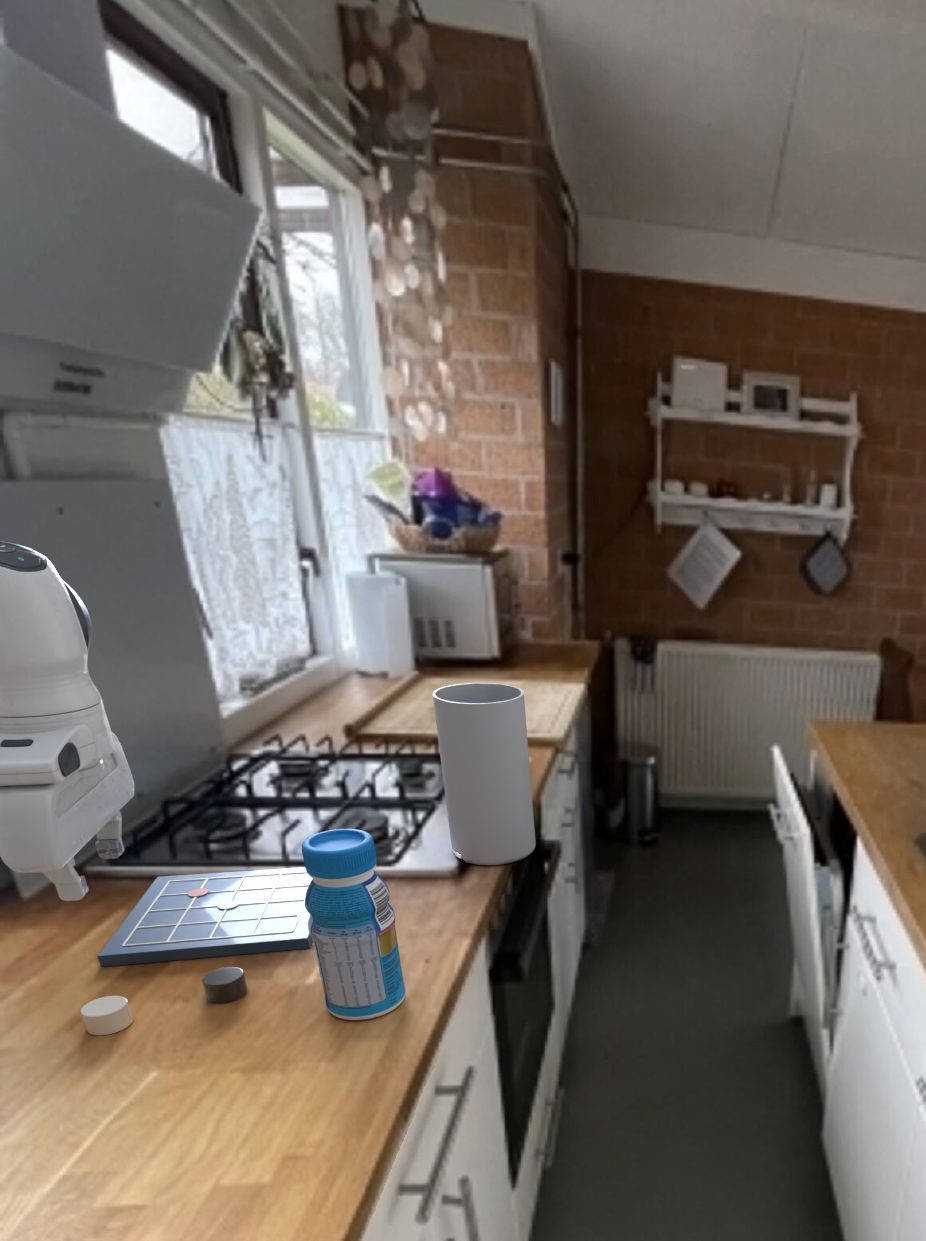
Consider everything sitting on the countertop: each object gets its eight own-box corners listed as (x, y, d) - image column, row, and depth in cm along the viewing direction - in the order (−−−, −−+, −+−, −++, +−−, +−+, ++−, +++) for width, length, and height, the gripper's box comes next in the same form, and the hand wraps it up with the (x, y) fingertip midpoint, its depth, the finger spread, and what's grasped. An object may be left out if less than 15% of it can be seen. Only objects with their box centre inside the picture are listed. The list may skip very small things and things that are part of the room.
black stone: (202, 1005, 97) (197, 987, 96) (212, 986, 100) (207, 968, 99) (243, 1001, 98) (238, 983, 97) (251, 982, 102) (247, 964, 101)
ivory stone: (80, 1037, 91) (73, 1018, 90) (95, 1016, 94) (88, 997, 93) (126, 1033, 92) (119, 1013, 91) (138, 1011, 95) (132, 993, 94)
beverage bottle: (344, 1032, 94) (309, 863, 85) (313, 999, 99) (278, 836, 90) (420, 1004, 100) (395, 842, 91) (388, 974, 105) (361, 818, 96)
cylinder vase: (510, 872, 132) (494, 707, 121) (435, 860, 134) (414, 697, 123) (550, 841, 143) (539, 688, 132) (480, 831, 145) (464, 679, 134)
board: (100, 967, 103) (96, 954, 102) (160, 886, 121) (156, 875, 120) (310, 948, 109) (307, 936, 108) (336, 874, 128) (333, 864, 127)
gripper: (56, 706, 87) (97, 836, 93) (-52, 773, 69) (6, 927, 75) (131, 706, 88) (166, 833, 95) (44, 771, 71) (94, 921, 77)
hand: (95, 875), depth 85 cm, fingers open, 8 cm apart
